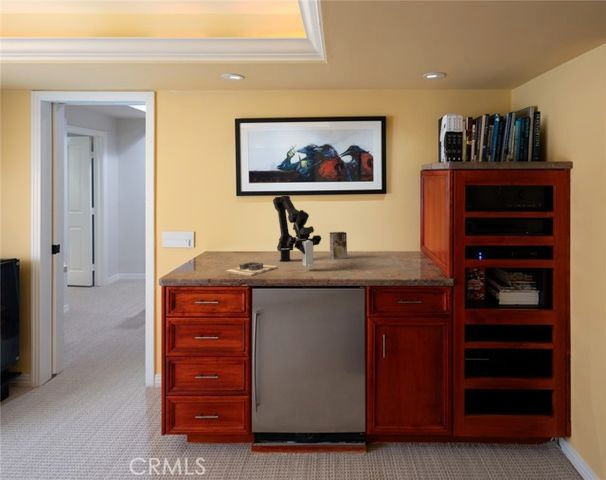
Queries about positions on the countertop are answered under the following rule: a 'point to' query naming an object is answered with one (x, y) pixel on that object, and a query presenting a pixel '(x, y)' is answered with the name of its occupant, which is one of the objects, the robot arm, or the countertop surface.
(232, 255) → the countertop surface
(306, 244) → the block
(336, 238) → the coffee box
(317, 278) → the countertop surface
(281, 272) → the countertop surface
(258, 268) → the board
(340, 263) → the countertop surface
